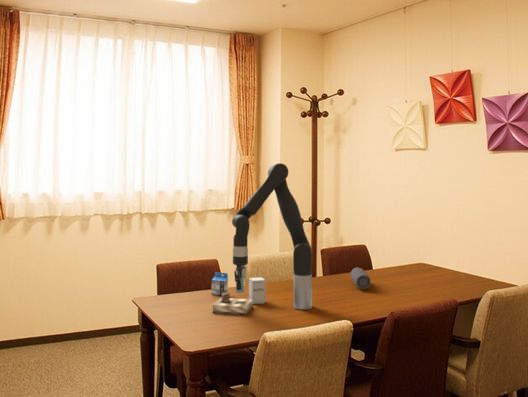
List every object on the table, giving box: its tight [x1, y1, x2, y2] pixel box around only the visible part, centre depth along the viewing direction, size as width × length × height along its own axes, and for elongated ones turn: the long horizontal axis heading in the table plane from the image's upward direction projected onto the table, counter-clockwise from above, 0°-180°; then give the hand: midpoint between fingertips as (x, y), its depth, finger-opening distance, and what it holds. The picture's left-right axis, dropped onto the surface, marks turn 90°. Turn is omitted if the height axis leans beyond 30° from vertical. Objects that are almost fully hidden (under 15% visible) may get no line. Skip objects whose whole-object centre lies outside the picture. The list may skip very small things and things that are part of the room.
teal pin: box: [235, 274, 245, 294], centre depth 256 cm, size 4×4×9 cm
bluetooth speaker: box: [350, 267, 372, 290], centre depth 307 cm, size 23×9×10 cm, turn 179°
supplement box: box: [248, 277, 266, 305], centre depth 271 cm, size 7×7×13 cm
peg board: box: [212, 292, 254, 316], centre depth 257 cm, size 17×14×8 cm
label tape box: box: [210, 271, 229, 297], centre depth 287 cm, size 9×4×12 cm, turn 62°
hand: (240, 288), depth 256 cm, fingers closed on teal pin, 4 cm apart
